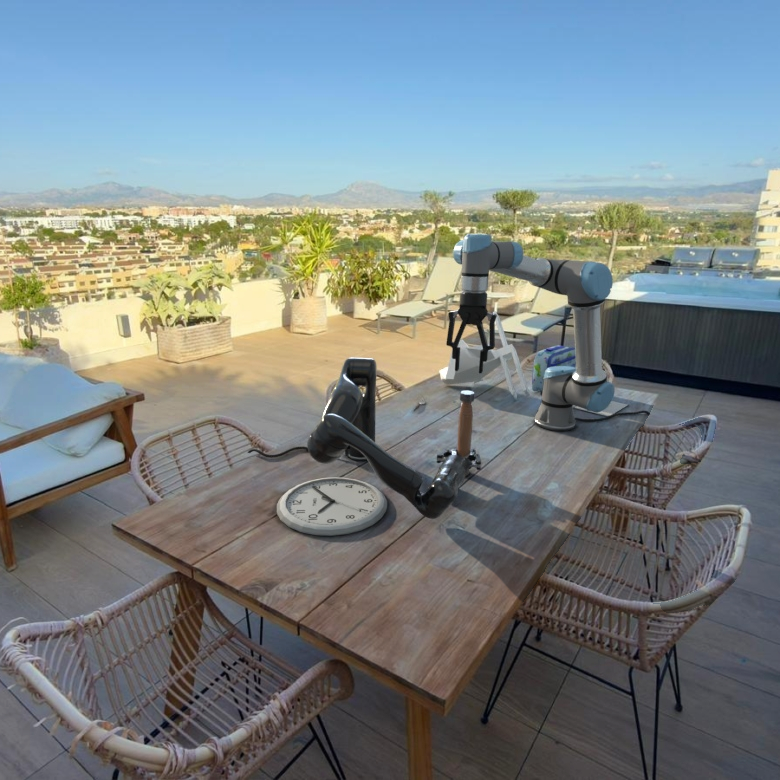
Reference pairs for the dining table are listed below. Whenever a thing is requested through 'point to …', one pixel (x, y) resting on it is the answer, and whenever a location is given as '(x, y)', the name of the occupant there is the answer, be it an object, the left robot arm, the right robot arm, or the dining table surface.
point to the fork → (420, 403)
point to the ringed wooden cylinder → (465, 429)
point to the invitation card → (608, 408)
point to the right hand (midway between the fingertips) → (468, 370)
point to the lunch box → (551, 363)
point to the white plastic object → (472, 359)
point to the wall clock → (331, 506)
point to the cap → (467, 396)
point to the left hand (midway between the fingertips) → (465, 449)
